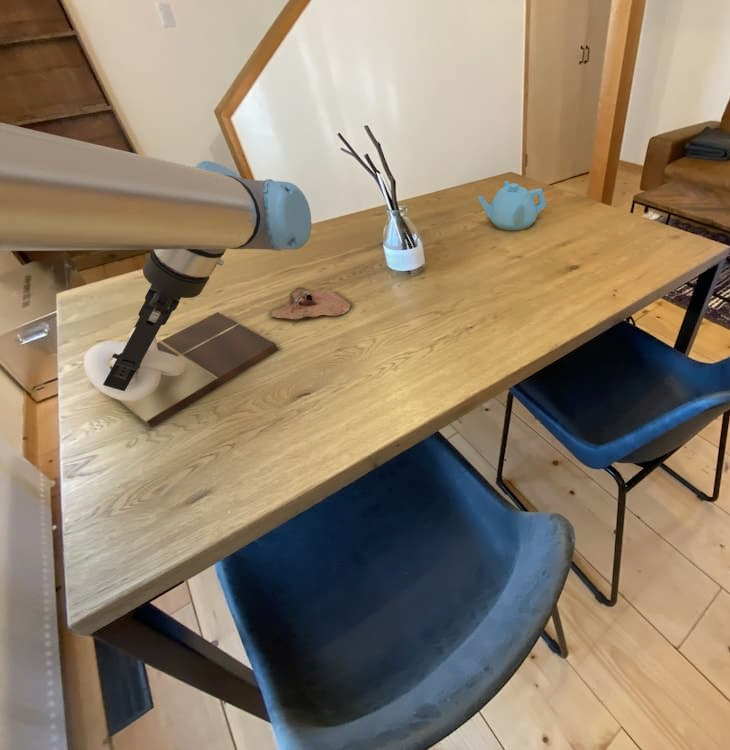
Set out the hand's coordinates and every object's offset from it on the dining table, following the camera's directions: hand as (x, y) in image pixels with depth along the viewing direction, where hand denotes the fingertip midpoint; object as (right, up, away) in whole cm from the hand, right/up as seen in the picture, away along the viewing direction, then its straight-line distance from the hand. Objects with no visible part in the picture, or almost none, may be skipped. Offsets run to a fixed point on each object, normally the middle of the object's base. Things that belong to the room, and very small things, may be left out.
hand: (126, 362), depth 72 cm
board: (+3, 0, +11) cm, 11 cm away
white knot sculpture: (+3, -4, +3) cm, 5 cm away
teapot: (+65, +43, +57) cm, 97 cm away
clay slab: (+20, +13, +26) cm, 35 cm away
